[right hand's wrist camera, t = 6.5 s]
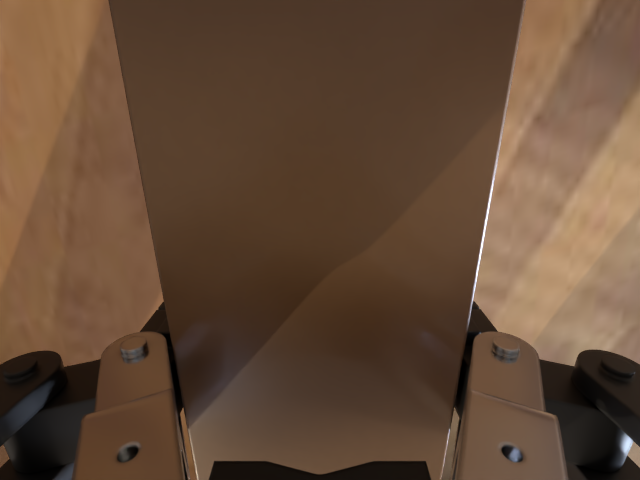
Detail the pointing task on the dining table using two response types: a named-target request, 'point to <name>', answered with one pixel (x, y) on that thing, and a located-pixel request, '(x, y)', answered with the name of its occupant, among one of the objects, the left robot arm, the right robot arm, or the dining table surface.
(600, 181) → the dining table surface
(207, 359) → the box
